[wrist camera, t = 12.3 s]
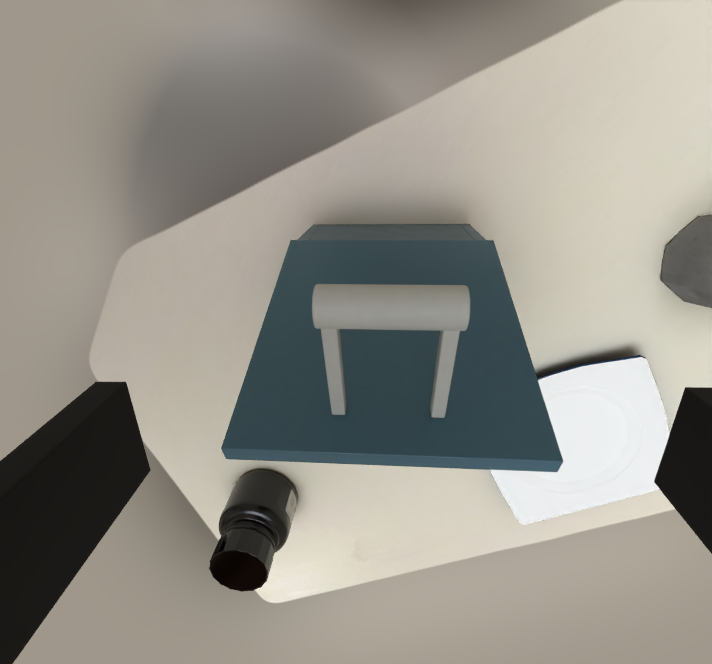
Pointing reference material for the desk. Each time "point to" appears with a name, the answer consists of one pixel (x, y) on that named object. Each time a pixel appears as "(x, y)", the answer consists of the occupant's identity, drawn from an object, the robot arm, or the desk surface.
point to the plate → (594, 440)
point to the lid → (393, 362)
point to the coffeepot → (690, 263)
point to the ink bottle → (253, 529)
